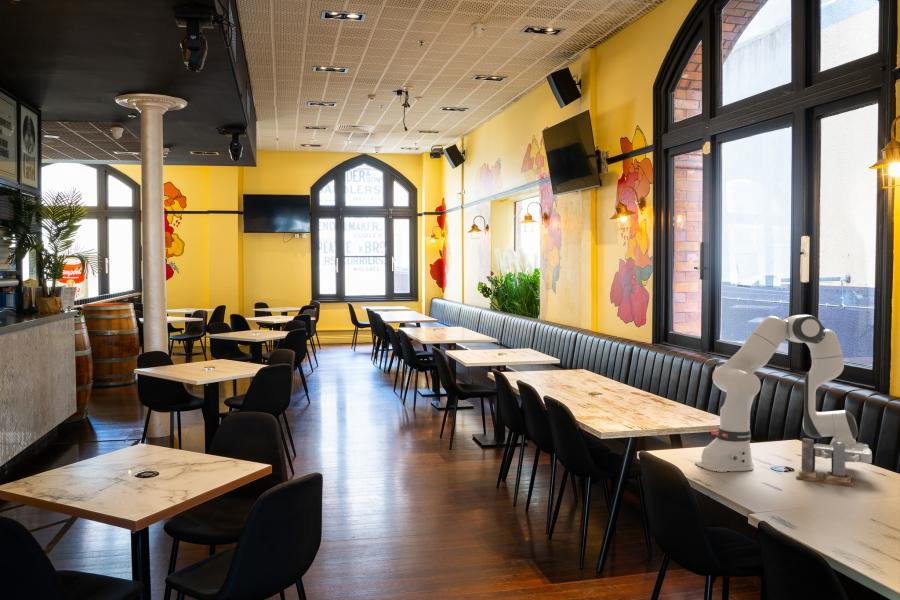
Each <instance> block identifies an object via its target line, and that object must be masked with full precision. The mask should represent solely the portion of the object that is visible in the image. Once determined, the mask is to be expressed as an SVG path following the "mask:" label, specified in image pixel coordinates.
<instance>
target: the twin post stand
mask: <svg viewBox="0 0 900 600" xmlns="http://www.w3.org/2000/svg"><path fill="white" fill-rule="evenodd" d="M814 440H815V438H813V439H812V438H802V440H801V467H800V469H799V470H798V471H797V474H796V476H795V479H796V480H800V481H801V480H802V481H806V482H807V481H809V482H814V483H821V484H829V485H836V486H843V487H849V488H854V486H855V482H856V478H855V477H852V476H853V475H852V474H850V473H845V478H844V477H837V476H833V474H831V471H830V470H829V471H826V473H820V472H818V469H816V456H815V448H814V444H815V441H814Z"/></svg>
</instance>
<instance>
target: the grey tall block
mask: <svg viewBox="0 0 900 600" xmlns="http://www.w3.org/2000/svg"><path fill="white" fill-rule="evenodd" d="M830 470H831V471H830V472H831V474H833V476H837V477H844V478H845V474H846V462H845V443H841V442H834V443H833V451H832V459H831V469H830Z"/></svg>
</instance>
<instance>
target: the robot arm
mask: <svg viewBox="0 0 900 600" xmlns="http://www.w3.org/2000/svg"><path fill="white" fill-rule="evenodd" d="M784 341H787V342H790V343H799V344H803V343H805V345H807V347H808V348H809V351H810V358H811V367H810V368H809V370H808V371H807V372H806V373H805V376H804V384H803V385H804V388H803V389H804V391H803V393H804V394H803V395H804V396H803V418H802V428H803V431H804V433H805V434H806V435H807V436H809V437H810V438H811V439H812V438H813V439H818V438H825V437H832V439H831V441H830V443H829V444H824V443H814V448H815V458H823V459H830V460H832V451H833V443H834V442H841V443H845V463H848V462H849V463H850V462H851V463H863V464H872V463H873V462H872V460H873V453H872V450H871V449H870V448H869V444H866V443H862V442H857V441H856V438H857V437H858V435H859V430H858V428H859V427H858V423H857V420H856V418H855V416H854V415H853V414H852V412H850V411H848V410H845V409H842V410H831V411H830V410H829V411H817V410H816V399H817V398H816V394H817V393H816V392H817V389H818V388H820V386H822V385H824V384H826V383H828V382H830V381H832V380H835V379H836V378H837V377H839V376H840V375H841V374H842V372H843V371H844V369H845V362H844V355H843V350H842V347H841V344H840V341H839V338H838V336H837V334H836V333H835V331H834V330H832V329H830V328H829V329H828V328H825V326H823V324H822V322H821V321H820V319H818V318H817V317H815V316H814V315H811V314H795V315H789V316H787V317H785V318H780V317H778V316H776V315H775V316H774V315H769V316H766V317H765V318H764V319H763V320H762V321H761V322H760V323H759V324H758V325H757V326H756V327H755V328H754V330H753V331H752V332H751V334H750V335H749V336H748V337H747V339H746V341H745V342H744V343H743V345H742V346H741V347H740V349H738V350H737V352H735V353H734V354H733V355H732V356H731V357H730V358H729V359H728V360H727V361H726V362H724V363H723V364H721V365H719V366H718V367H716V368H715V369H714V370H713V371H712V375H711V377H712V378H711V379H712V382H713V384H714V385H715V386H716V387H717V388H718V389H719V390H720V391H723V392H725V393H726V395H725V400H724V402H723V405H722V406H721V407H720V410H719V414H720V415H719V428H718V430H716V429H711V430H710V431H711V433H710V434H711V435H714V436H716V437H715V439H713V440H712V441H711V442H710V443H709V444H707V445H706V446H705V447H703V450H702V452H701V459H698V460H695V463H696V464H697V465H696V464H695V463H694V464H695V465H696V466H698V467H699V468H702V467H703V469H705V470H708V471H712V472H716V471H717V472H718V473H726V472H727V471H730V472H743V471H744V472H746V471H747V472H748V471H754V467H755V466H754V463H753V458H752V450H751V443H750V441H751V440H752V434H751V433H752V432H751V428H750V427H751V423H750V422H751V420H750V419H751V410H752V406H753V403H754V399H755V397H756V396H757V395H758V393H759V392H760V390H761V386H762V385H761V381H760V378H759V377H758V376H757V375H756V374H755V372H756V371H758V370H759V369H761V368H763V367H765V366H767V364H768V363H769V361H770V359H772V357H773V355H774V354H775V353H776V351H777V349H778V348H779V347H780V345H781V344H782V343H783V342H784ZM727 473H728V472H727Z"/></svg>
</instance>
